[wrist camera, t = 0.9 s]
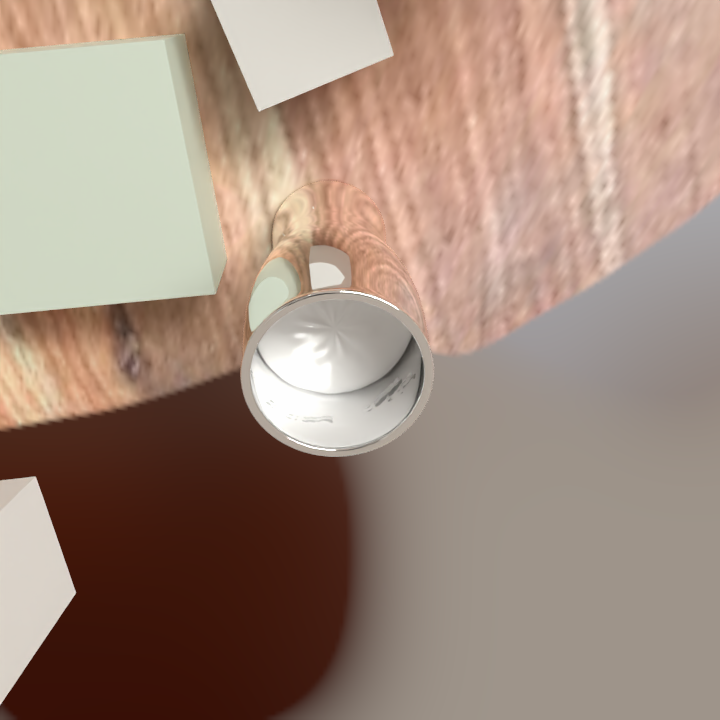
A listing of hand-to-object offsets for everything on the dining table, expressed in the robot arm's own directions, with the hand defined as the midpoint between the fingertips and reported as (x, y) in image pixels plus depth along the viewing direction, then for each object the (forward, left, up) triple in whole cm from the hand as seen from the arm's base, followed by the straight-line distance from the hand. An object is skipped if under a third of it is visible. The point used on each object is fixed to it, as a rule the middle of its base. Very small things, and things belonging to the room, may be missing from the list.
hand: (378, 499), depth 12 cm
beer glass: (+3, -1, -25) cm, 25 cm away
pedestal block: (-2, -12, -25) cm, 27 cm away
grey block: (-8, -1, -25) cm, 26 cm away
